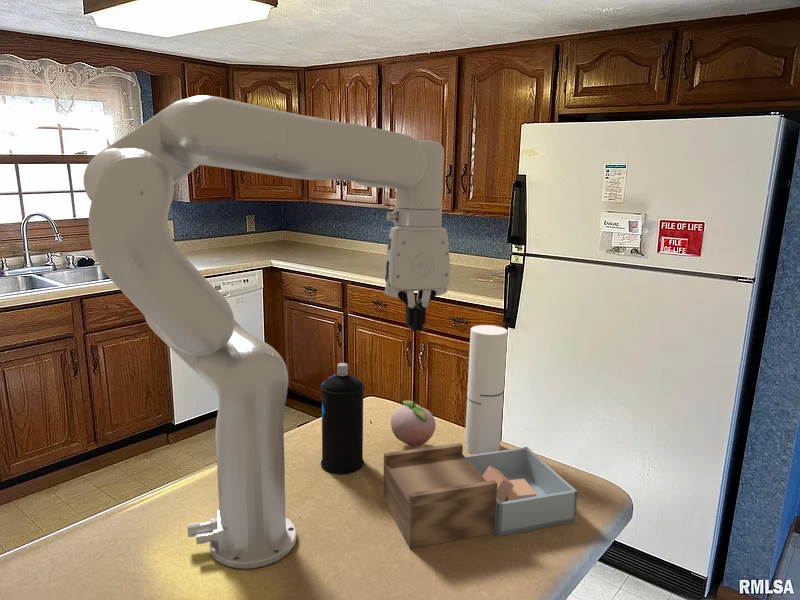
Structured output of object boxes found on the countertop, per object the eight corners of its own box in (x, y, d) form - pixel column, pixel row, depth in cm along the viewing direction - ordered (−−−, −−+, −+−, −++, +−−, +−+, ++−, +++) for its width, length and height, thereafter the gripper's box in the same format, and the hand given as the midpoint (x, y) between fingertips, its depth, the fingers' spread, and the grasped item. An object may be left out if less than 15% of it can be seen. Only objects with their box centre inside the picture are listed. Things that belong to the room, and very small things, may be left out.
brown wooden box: (409, 548, 88) (411, 496, 86) (383, 499, 101) (384, 453, 99) (494, 533, 92) (497, 483, 90) (458, 487, 105) (460, 443, 103)
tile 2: (536, 494, 97) (535, 507, 98) (524, 478, 102) (523, 491, 102) (508, 496, 96) (507, 510, 97) (497, 481, 101) (496, 494, 101)
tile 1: (503, 479, 95) (514, 485, 96) (489, 465, 100) (499, 470, 101) (486, 505, 96) (497, 511, 96) (473, 489, 100) (484, 495, 101)
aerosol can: (372, 461, 114) (373, 362, 109) (346, 479, 107) (346, 375, 102) (338, 449, 118) (338, 354, 114) (311, 466, 111) (310, 366, 107)
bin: (497, 536, 91) (499, 504, 90) (456, 484, 106) (457, 456, 105) (574, 522, 95) (577, 491, 94) (524, 474, 110) (526, 447, 109)
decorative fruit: (381, 443, 121) (382, 398, 119) (412, 433, 126) (414, 389, 124) (409, 462, 114) (410, 413, 111) (441, 450, 118) (443, 404, 116)
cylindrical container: (499, 457, 116) (507, 336, 111) (463, 453, 118) (469, 333, 112) (500, 441, 123) (507, 326, 118) (466, 438, 124) (472, 324, 119)
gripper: (380, 221, 89) (378, 338, 93) (470, 221, 94) (464, 332, 98) (367, 217, 96) (366, 326, 100) (451, 217, 101) (447, 321, 105)
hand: (415, 328), depth 99 cm, fingers closed
